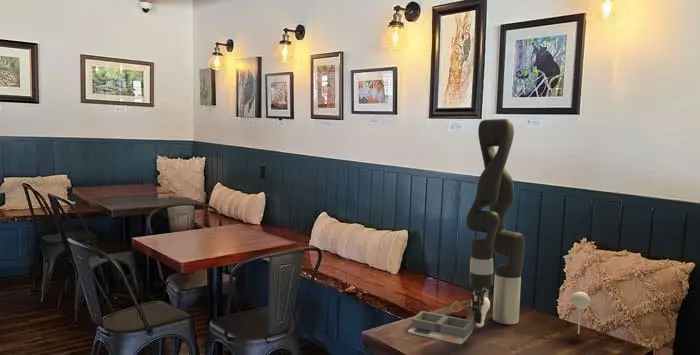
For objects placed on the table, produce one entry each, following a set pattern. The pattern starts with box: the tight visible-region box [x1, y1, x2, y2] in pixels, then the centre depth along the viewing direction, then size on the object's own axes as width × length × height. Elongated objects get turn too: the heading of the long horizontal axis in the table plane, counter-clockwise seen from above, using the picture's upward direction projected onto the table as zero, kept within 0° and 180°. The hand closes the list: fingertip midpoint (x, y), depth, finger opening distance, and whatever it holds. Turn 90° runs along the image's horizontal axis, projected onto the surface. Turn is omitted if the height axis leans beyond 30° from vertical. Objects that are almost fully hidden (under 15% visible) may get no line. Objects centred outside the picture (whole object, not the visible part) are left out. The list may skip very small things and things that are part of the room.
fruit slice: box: [449, 299, 469, 318], centre depth 203 cm, size 8×7×5 cm
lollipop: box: [570, 291, 591, 335], centre depth 188 cm, size 6×6×15 cm
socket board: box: [407, 310, 474, 345], centre depth 188 cm, size 13×19×4 cm
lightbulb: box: [470, 297, 491, 328], centre depth 180 cm, size 6×6×11 cm
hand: (479, 319), depth 181 cm, fingers closed on lightbulb, 5 cm apart
